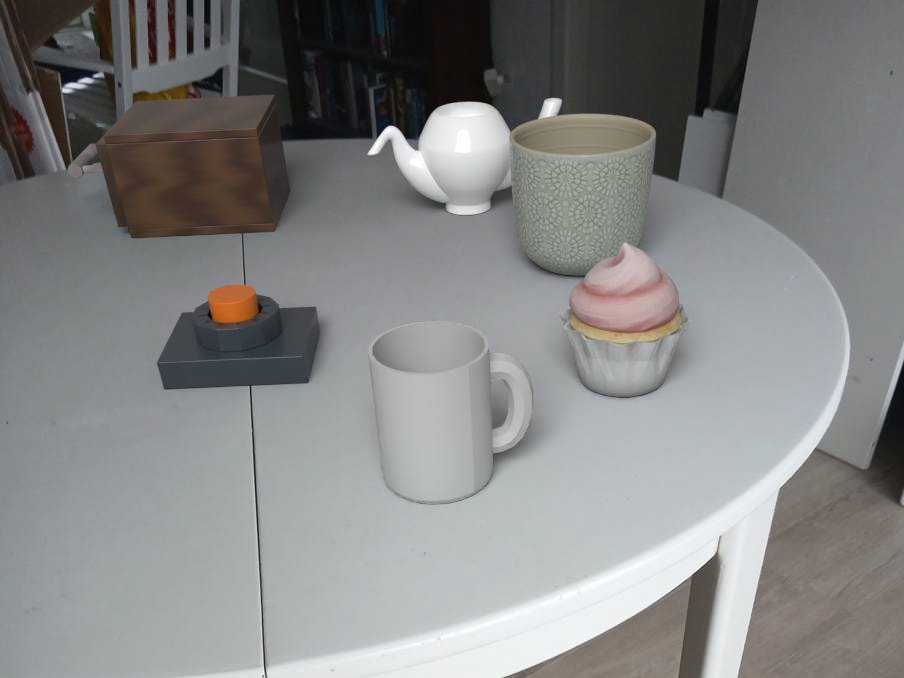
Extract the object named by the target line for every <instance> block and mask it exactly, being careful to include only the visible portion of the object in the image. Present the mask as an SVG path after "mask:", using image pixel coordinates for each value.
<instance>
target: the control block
mask: <svg viewBox="0 0 904 678" xmlns="http://www.w3.org/2000/svg"><path fill="white" fill-rule="evenodd" d="M256 297H257V302H258V307H259V314H258V315H256V316H255V317H253V318H251V319H248V320H244V321H241V322H229V323H221V322H217V321H213V319H212V315H211V311H210V307H209V302H208V300H207V301H205V302H204V303H202V304H200V305H199V306H196V307H195V308H194V311H185V312H181V313H180V316H179V317H178V319H177V322H176V324H175V325H174V328H173V329H172V331H171V334H170V336H169V337H168V340H167V341H166V343H165V345H164V347H163V349H162V351H161V353H160V354H159V357H158V359H157V361H156V365H157V369H158V372H159V376H160V380H161V383H162V386H163V390H172V389H195V388H218V387H219V388H220V387H239V386H240V387H241V386H266V385H286V384H307V383H308V382H309V379H310V375H311V369H312V366H313V362H314V358H315V354H316V349H317V345H318V341H319V337H320V333H321V329H320V328H321V327H320V323H319V316H318V315H319V314H318V310H317V306H297V307H296V306H295V307H280V305H279V304H278V303H277V302H276V300H274V299H273V298H272V297H271V296H267V295H263V294H257V293H256Z"/></svg>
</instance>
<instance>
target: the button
mask: <svg viewBox="0 0 904 678" xmlns="http://www.w3.org/2000/svg"><path fill="white" fill-rule="evenodd" d="M256 294H257V292H256V289H255V288H254V287H253V286H251V285H246V284H228V285H223V286H219V287H217V288H214V289H212V290H211V291H210V292H209V293H208V294H207V301H208V302H209V307H210V311H211V315H212V319H213V321H217V322H221V323H229V322H241V321H244V320H248V319H251V318H253V317H255V316H256V315H258V314H259V307H258V302H257V297H256Z"/></svg>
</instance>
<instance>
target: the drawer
mask: <svg viewBox="0 0 904 678" xmlns="http://www.w3.org/2000/svg"><path fill="white" fill-rule="evenodd" d="M98 159H99V162H100V164H95V163H96V161H97V160H98ZM67 173H68V174H69V175H70V176H71V177H72V178H74V179H76V180H77V179H81V178H82V177H83V175H85V174H98V173H102V174H103V177H104V181H105V184H106V187H107V193H108V195H109V198H110V199H109V200H110V202H111V206H112V210H113V213H114V217H115V220H116V224H117V227H118V228H128V224H127V221H126V217H125V213H124V209H123V206H122V202H121V198H120V195H119V191H118V187H117V184H116V180H115V176H114V173H113V169H112V165H111V161H110V158H109V154H108V150H107V147H106V143H105V139H104V135H102V136H101V138H100V139H99V140H98V141H97V142H96V143H90V144H88V145H87V146H86V147H85V148H84V149H83V150H82V151H81V152H80V153H79V155H78V156H77V157H75V159H74V160H73V161H72V162H71V163H70V164H69V165H68V167H67Z"/></svg>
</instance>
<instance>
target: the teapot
mask: <svg viewBox="0 0 904 678" xmlns="http://www.w3.org/2000/svg"><path fill="white" fill-rule="evenodd" d="M562 104H563V100H562V99H561V98H559V97H550V98H546V99H544V100H543V104H542V107H541V110H540V113H539V115H538V117H537V119H541V118H545V117H551V116H558V115H559V112H560V110H561V109H562V108H561V107H562ZM511 132H512V130H511V129H510V128H509V126H508V124H507V122H506V121H505V119H504V117H503V115H501V113H500V111H499V110H498V109H497V108H495V106H493V105H491V104H488V103H485V102H481V101H458V102H452V103H447V104H443V105H440V106H438V107H436V108H435V109H434V110H433V111H432V112H431V113H430V115H429V116H428V118H427V120H426V122H425V124H424V126H423V129H422V131H421V132H420V135H419V137H418V141H417V149H414V148H413V147H412V146H411V145H410V143H408V141H407V139H406V137H405V136H404V134H403V133H402V131H401V130H400V129H399V128H398V127H396V126H394V125H388V126H386V127H385V128H384V129H383V131H382V132H381V133H380V134H379V136H378V137H377V139H376V140H375V141H374V143H373V145H372V146H371V147H370V149H369V150H368V152H367V153H366V154H367V155H368V156H374V155H377V154H380V153H381V152H382V150H383V148H384V146H385V145H386V143H387V142H388V141H390V142H391V146H392V151H393V155H394V156H393V157H394V159H395V163H396V165H397V167H398V169H399V171H400V172H401V174H402V175H403V177H404V178H405V179H406V181H407V182H408V183H409V185H410V186H411V187H412V188H414V190H415V191H416V192H417V193H419V194H421V195H422V196H423V197H426V198H427V199H429V200H431V201H434V202H437V203H441V204H445V210H446V212H448V213H451V214H453V215H457V216H475V215H479V214H483V213H486V212H488V211H490V209H491V208H492V202H491V198H492V196H493V195H494V194H495V192H499V191H503V190H507V189H508V188H511V187H512V185H511V173H510V158H509V135H510V133H511Z"/></svg>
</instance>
